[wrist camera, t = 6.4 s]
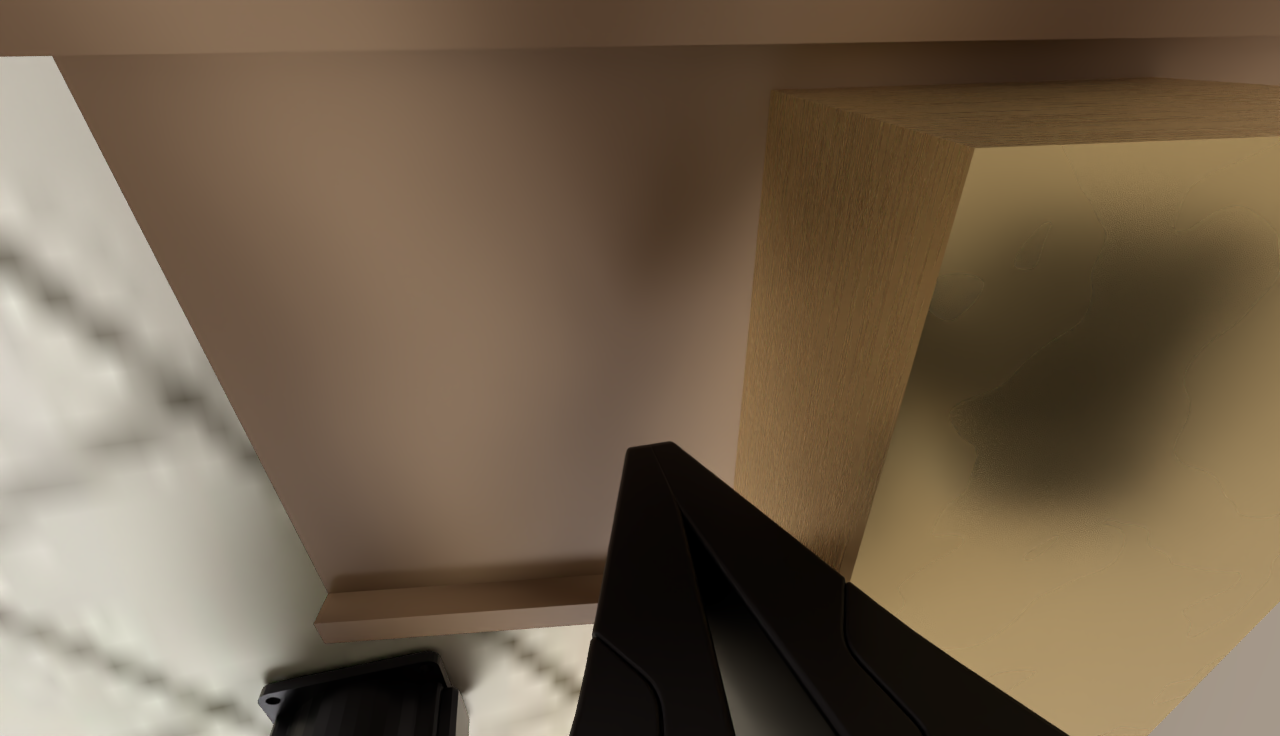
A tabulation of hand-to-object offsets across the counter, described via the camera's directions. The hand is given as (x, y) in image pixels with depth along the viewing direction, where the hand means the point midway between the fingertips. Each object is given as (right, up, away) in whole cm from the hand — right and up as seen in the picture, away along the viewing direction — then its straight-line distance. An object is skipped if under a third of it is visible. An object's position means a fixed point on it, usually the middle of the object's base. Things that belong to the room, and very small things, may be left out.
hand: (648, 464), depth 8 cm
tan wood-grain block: (+5, +2, +2) cm, 6 cm away
